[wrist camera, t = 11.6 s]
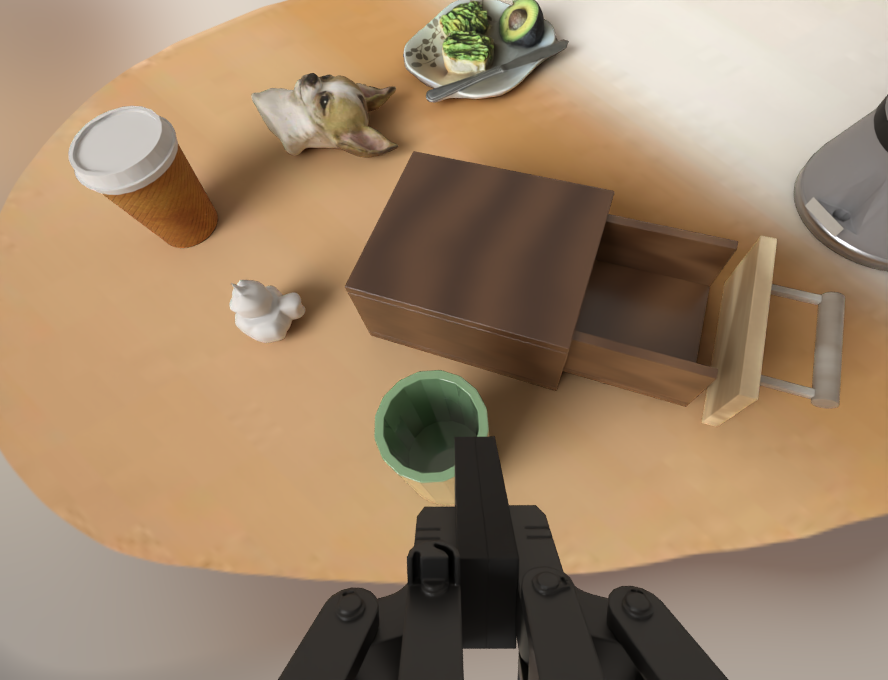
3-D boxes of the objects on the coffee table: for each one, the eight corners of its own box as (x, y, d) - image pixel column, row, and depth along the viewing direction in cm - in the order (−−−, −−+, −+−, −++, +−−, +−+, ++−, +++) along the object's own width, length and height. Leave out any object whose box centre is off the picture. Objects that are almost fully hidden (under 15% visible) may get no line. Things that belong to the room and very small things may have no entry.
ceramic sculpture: (249, 47, 53) (388, 35, 53) (277, 114, 61) (398, 104, 61) (239, 118, 48) (391, 105, 48) (270, 181, 56) (401, 170, 56)
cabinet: (595, 253, 48) (614, 190, 40) (556, 391, 43) (569, 349, 35) (426, 214, 52) (413, 150, 44) (370, 335, 47) (344, 286, 39)
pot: (502, 433, 41) (502, 388, 32) (474, 518, 39) (465, 499, 29) (422, 407, 43) (400, 357, 33) (391, 487, 40) (356, 459, 31)
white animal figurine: (245, 309, 49) (202, 264, 42) (310, 292, 49) (277, 245, 42) (248, 357, 47) (203, 317, 40) (316, 340, 47) (283, 297, 40)
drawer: (813, 302, 43) (866, 256, 36) (801, 452, 38) (860, 428, 31) (554, 243, 48) (563, 194, 42) (513, 367, 43) (516, 332, 37)
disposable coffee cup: (234, 185, 57) (172, 94, 46) (230, 252, 53) (160, 169, 42) (154, 199, 57) (74, 112, 46) (143, 267, 53) (52, 189, 42)
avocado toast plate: (483, 140, 56) (482, 105, 52) (371, 82, 62) (362, 46, 58) (581, 45, 61) (587, 6, 57) (469, 0, 67) (467, -38, 63)
